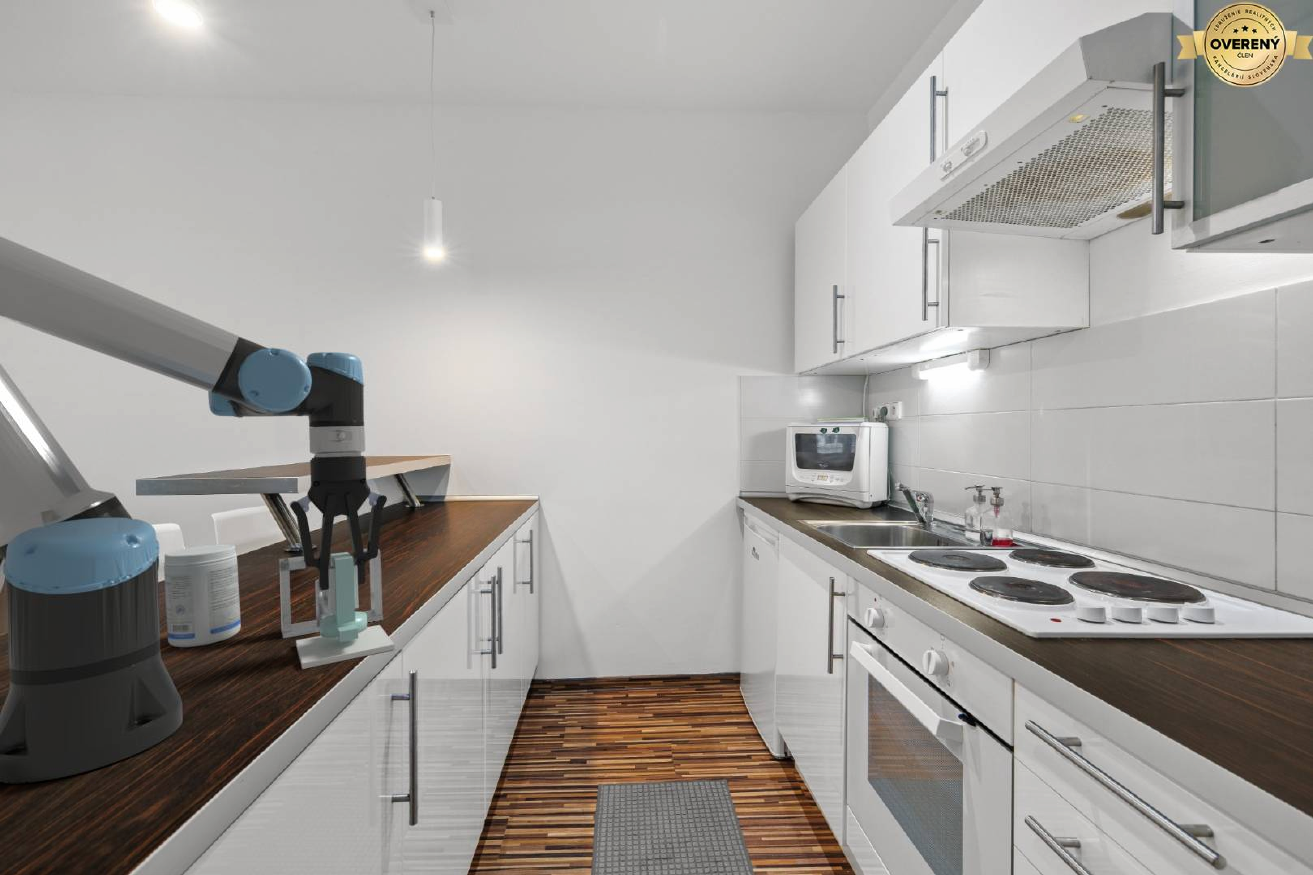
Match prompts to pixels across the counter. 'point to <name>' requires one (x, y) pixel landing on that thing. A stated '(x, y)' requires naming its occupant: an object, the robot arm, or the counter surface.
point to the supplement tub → (201, 595)
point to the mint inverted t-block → (343, 603)
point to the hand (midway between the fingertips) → (343, 607)
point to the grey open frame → (323, 597)
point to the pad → (342, 647)
